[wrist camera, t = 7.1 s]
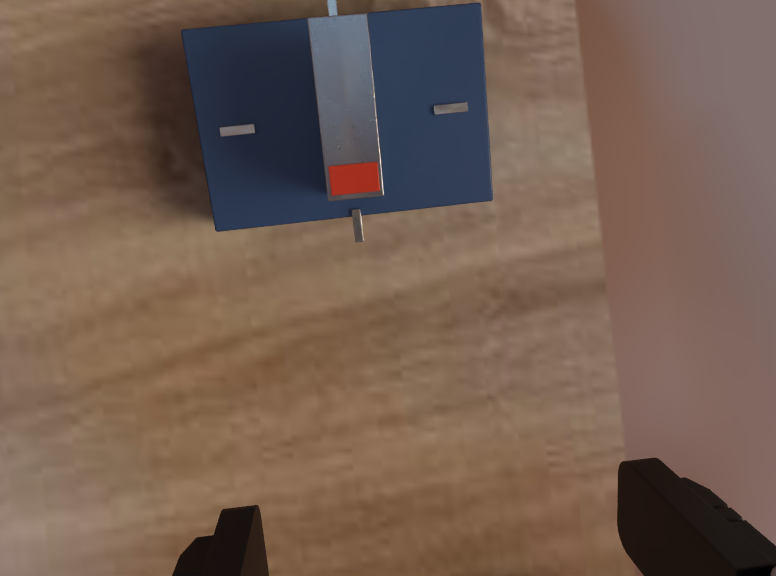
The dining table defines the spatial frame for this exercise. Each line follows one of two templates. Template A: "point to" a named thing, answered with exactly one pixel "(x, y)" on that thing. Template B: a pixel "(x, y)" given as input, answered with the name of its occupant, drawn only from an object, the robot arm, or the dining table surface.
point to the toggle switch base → (301, 124)
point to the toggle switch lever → (346, 105)
